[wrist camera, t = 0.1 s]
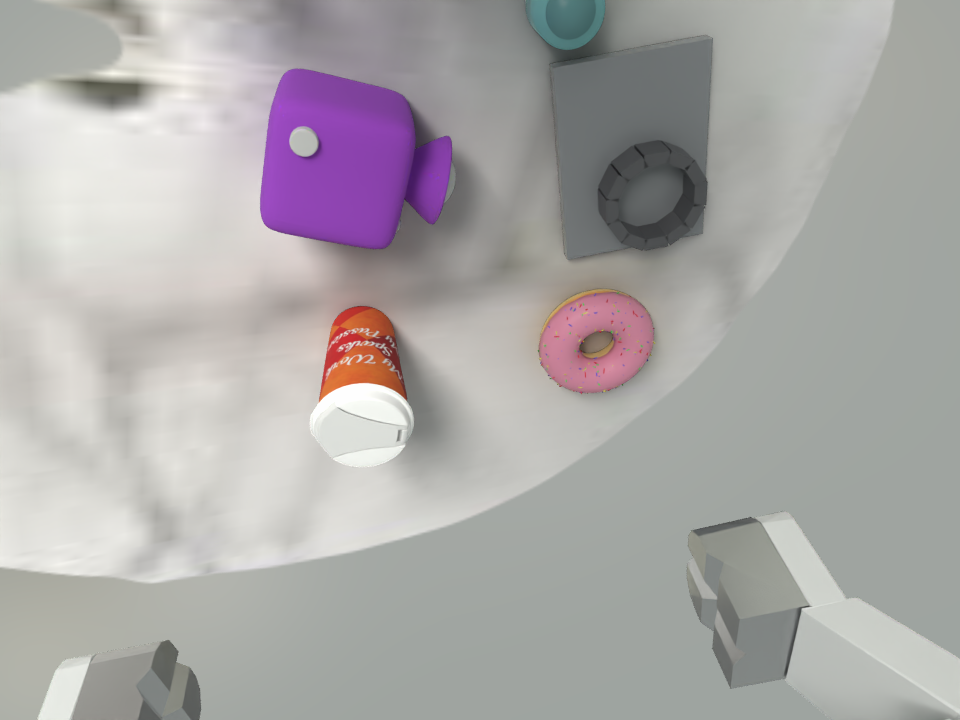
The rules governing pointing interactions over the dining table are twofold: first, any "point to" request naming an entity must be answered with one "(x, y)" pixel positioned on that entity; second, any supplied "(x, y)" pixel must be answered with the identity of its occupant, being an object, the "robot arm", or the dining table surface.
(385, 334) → the paper cup
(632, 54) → the board
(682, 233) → the grey segmented ring
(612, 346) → the doughnut
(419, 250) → the dining table surface
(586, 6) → the cap
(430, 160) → the toy camera
